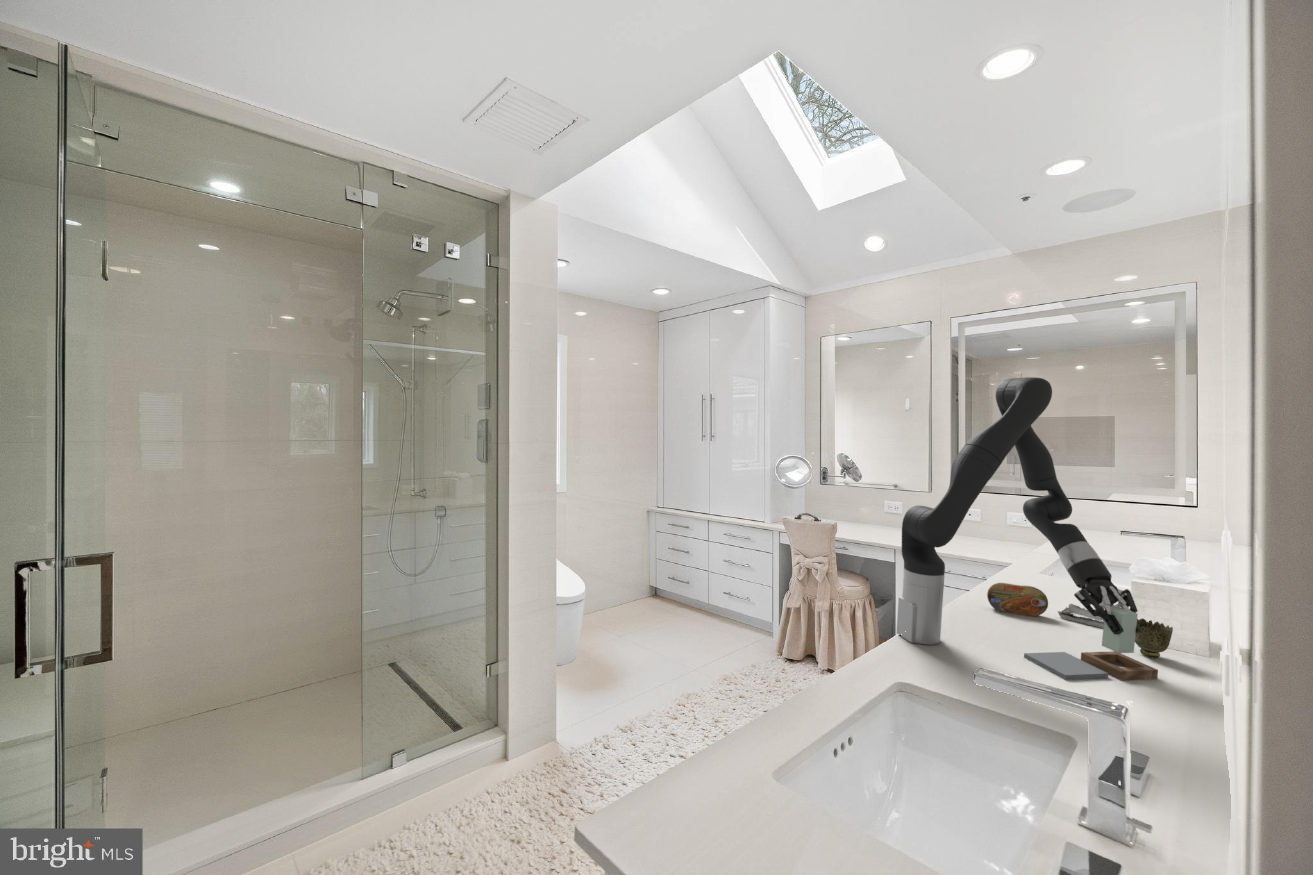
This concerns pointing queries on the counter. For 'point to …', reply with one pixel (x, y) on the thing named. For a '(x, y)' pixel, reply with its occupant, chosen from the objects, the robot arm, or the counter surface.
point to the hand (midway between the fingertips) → (1128, 632)
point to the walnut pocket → (1132, 671)
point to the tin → (1017, 599)
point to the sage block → (1125, 639)
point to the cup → (1153, 638)
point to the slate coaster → (1065, 665)
